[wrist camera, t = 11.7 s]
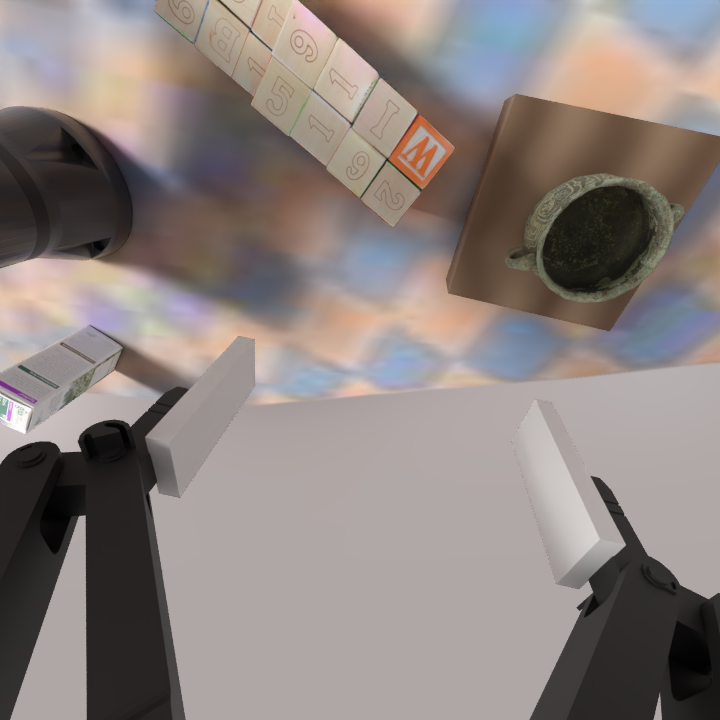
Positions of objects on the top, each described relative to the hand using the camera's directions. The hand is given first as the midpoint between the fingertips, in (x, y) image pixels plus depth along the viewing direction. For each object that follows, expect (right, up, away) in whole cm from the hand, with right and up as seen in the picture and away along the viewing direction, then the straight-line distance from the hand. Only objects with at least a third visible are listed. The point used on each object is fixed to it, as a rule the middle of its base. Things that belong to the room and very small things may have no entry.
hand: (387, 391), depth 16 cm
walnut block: (+17, +15, +18) cm, 29 cm away
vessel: (+17, +13, +14) cm, 25 cm away
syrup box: (-40, +3, +36) cm, 53 cm away
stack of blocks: (-3, +25, +15) cm, 30 cm away
